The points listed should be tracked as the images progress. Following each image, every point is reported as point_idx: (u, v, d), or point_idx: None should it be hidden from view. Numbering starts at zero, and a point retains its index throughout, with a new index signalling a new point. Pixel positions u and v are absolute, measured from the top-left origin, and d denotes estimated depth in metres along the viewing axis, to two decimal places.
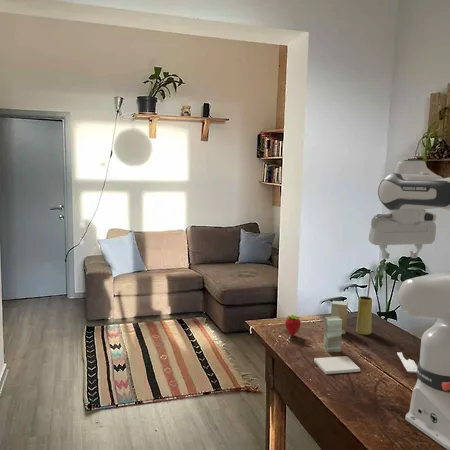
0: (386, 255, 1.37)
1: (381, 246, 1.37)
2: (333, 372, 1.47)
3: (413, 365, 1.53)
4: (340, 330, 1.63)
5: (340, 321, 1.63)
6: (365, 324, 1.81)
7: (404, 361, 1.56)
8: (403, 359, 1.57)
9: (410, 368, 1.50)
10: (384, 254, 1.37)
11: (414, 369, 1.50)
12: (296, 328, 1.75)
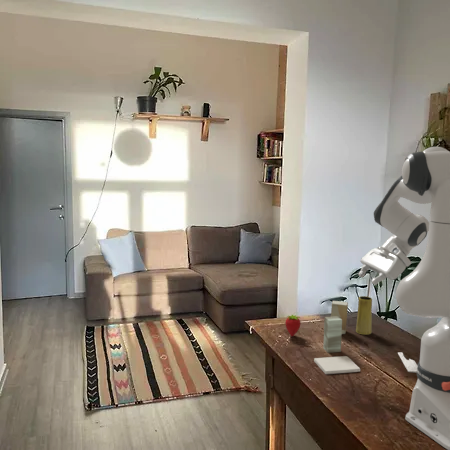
0: (360, 271, 1.69)
1: None
2: (333, 372, 1.47)
3: (414, 365, 1.53)
4: (340, 330, 1.63)
5: (340, 321, 1.63)
6: (365, 324, 1.81)
7: (405, 361, 1.56)
8: (404, 359, 1.57)
9: (411, 368, 1.50)
10: None
11: (415, 369, 1.50)
12: (296, 328, 1.75)
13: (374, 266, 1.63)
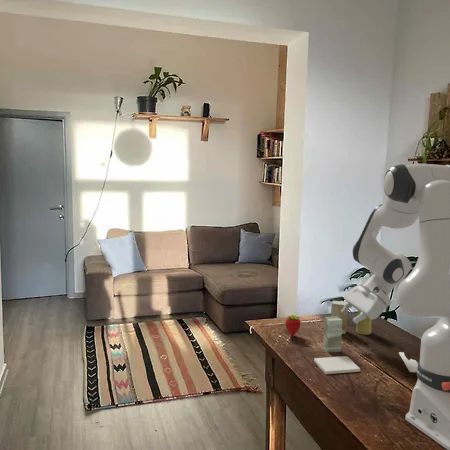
0: (343, 309, 1.70)
1: None
2: (333, 372, 1.47)
3: (415, 365, 1.53)
4: (340, 330, 1.63)
5: (340, 321, 1.63)
6: (365, 324, 1.81)
7: (406, 361, 1.56)
8: (405, 359, 1.57)
9: (412, 368, 1.50)
10: None
11: (416, 369, 1.50)
12: (296, 328, 1.75)
13: (356, 304, 1.64)
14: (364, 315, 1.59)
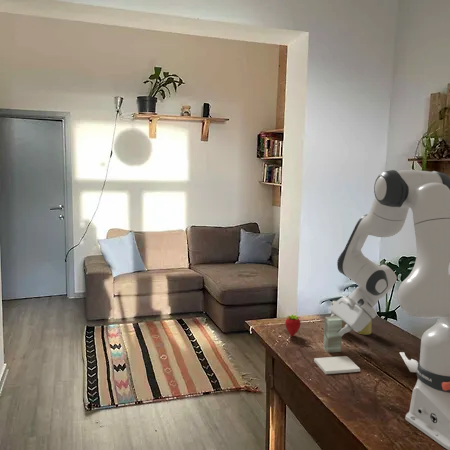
0: None
1: None
2: (333, 372, 1.47)
3: (416, 365, 1.53)
4: None
5: (340, 321, 1.63)
6: None
7: (407, 361, 1.56)
8: (406, 359, 1.57)
9: (413, 368, 1.50)
10: None
11: None
12: (296, 328, 1.75)
13: (341, 316, 1.64)
14: (349, 327, 1.59)
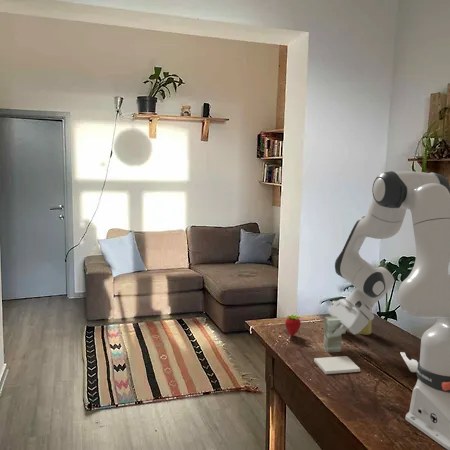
0: None
1: None
2: (333, 372, 1.47)
3: (416, 365, 1.53)
4: None
5: None
6: None
7: (407, 361, 1.56)
8: (406, 359, 1.57)
9: (413, 368, 1.50)
10: None
11: None
12: (296, 328, 1.75)
13: None
14: (344, 328, 1.61)
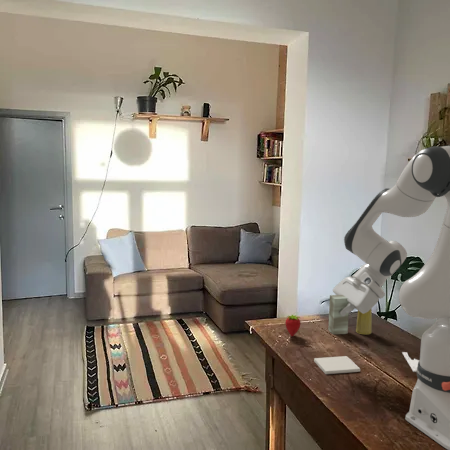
0: None
1: None
2: (333, 372, 1.47)
3: None
4: None
5: None
6: (365, 324, 1.81)
7: (410, 361, 1.56)
8: (409, 359, 1.57)
9: (416, 368, 1.50)
10: None
11: None
12: (296, 328, 1.75)
13: None
14: (351, 307, 1.46)
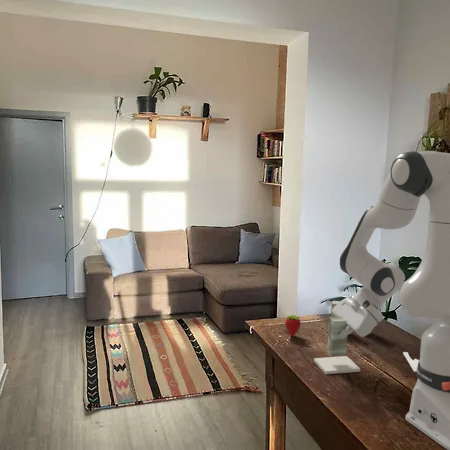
0: None
1: None
2: (333, 372, 1.47)
3: None
4: None
5: None
6: None
7: (410, 361, 1.56)
8: (409, 359, 1.57)
9: None
10: None
11: None
12: (296, 328, 1.75)
13: None
14: (350, 329, 1.47)
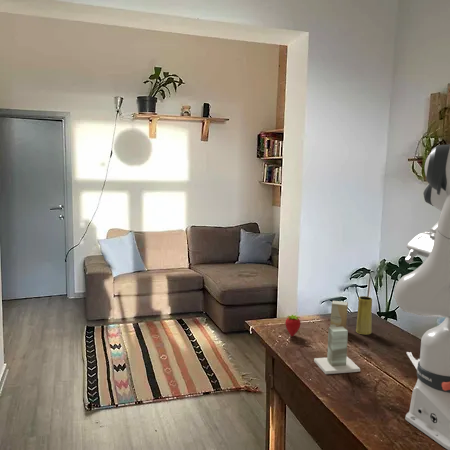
0: (407, 257, 1.55)
1: None
2: (333, 372, 1.47)
3: None
4: (345, 342, 1.50)
5: (345, 332, 1.49)
6: (365, 324, 1.81)
7: (414, 361, 1.56)
8: (413, 359, 1.57)
9: None
10: None
11: None
12: (296, 328, 1.75)
13: (424, 250, 1.49)
14: None
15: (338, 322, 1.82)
